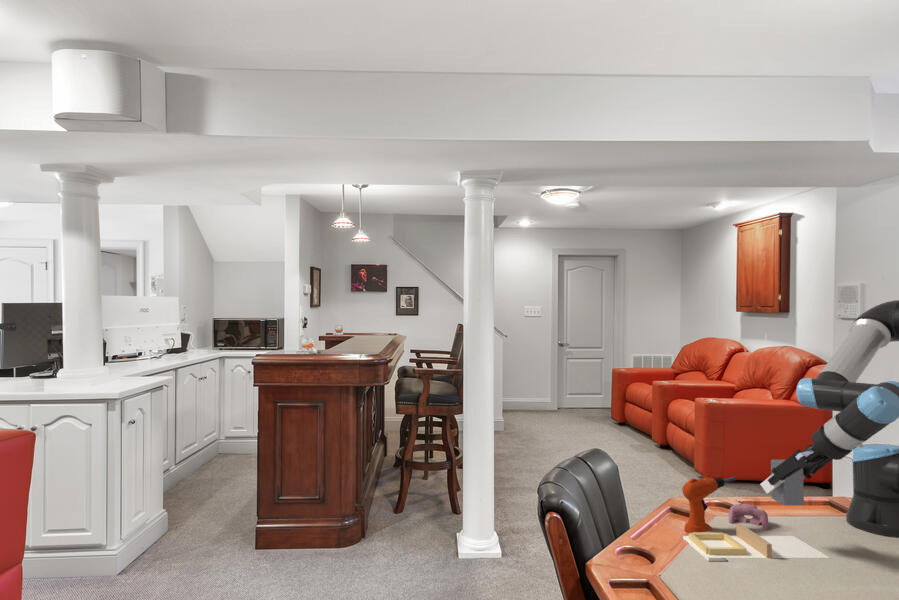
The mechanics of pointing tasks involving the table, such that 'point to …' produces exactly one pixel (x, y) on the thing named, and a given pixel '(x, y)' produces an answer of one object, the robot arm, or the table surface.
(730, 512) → the video game controller
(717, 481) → the toy drill
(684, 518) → the table surface
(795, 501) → the grey metal block
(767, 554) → the plate
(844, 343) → the robot arm
